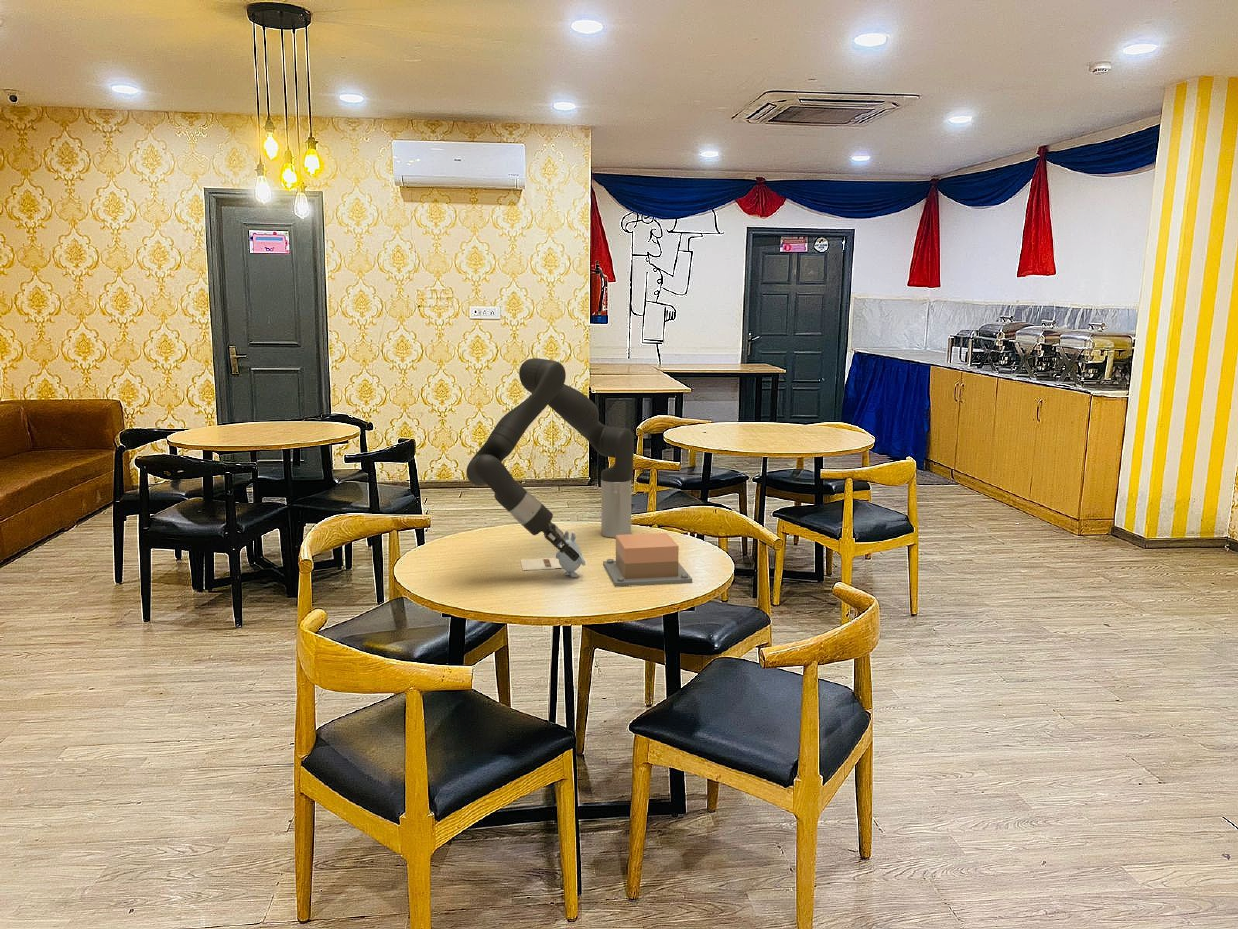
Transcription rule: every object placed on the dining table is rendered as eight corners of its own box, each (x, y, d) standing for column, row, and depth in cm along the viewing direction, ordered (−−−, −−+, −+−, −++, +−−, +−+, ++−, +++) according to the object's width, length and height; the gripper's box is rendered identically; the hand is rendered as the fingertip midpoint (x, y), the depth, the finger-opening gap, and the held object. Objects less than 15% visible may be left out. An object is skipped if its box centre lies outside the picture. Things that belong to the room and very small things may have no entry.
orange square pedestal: (603, 564, 251) (603, 532, 250) (674, 561, 254) (674, 529, 253) (615, 586, 232) (615, 552, 230) (692, 582, 235) (692, 548, 233)
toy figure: (593, 577, 240) (593, 532, 237) (576, 583, 235) (576, 537, 233) (564, 569, 247) (564, 526, 244) (547, 574, 242) (547, 530, 240)
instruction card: (520, 560, 255) (520, 559, 255) (570, 558, 258) (570, 556, 258) (522, 570, 246) (522, 569, 246) (574, 568, 248) (574, 566, 248)
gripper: (543, 508, 229) (589, 551, 233) (538, 496, 243) (581, 537, 247) (522, 530, 229) (568, 572, 233) (518, 517, 243) (562, 557, 247)
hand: (575, 554), depth 240 cm, fingers open, 8 cm apart
